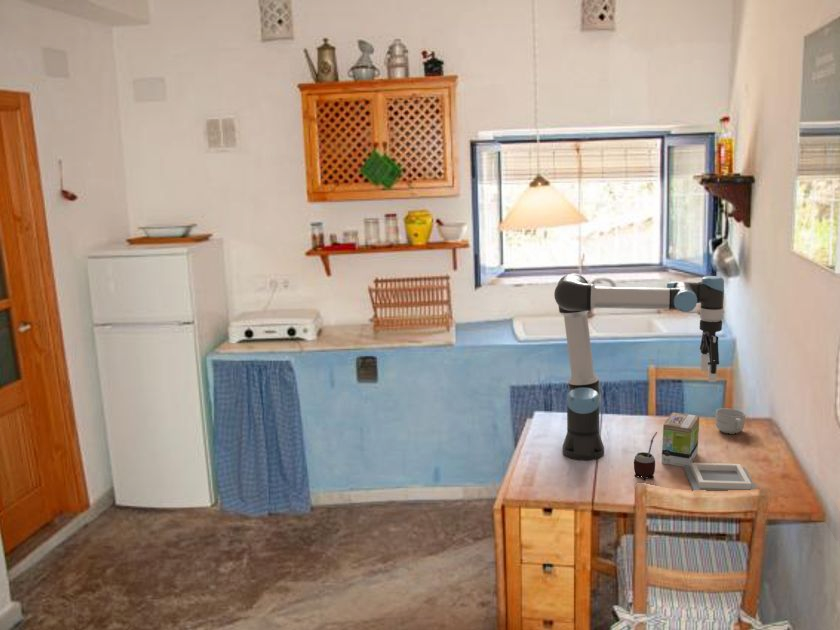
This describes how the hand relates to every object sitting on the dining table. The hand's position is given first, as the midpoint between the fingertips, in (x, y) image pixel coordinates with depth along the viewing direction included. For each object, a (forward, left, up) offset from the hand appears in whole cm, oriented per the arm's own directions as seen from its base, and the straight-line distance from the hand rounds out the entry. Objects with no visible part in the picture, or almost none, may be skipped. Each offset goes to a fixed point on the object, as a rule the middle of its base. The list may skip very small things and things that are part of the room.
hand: (708, 376), depth 286 cm
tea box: (-11, -12, -28) cm, 32 cm away
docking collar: (-1, -31, -27) cm, 41 cm away
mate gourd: (-25, -29, -27) cm, 47 cm away
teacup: (+12, +15, -28) cm, 34 cm away
